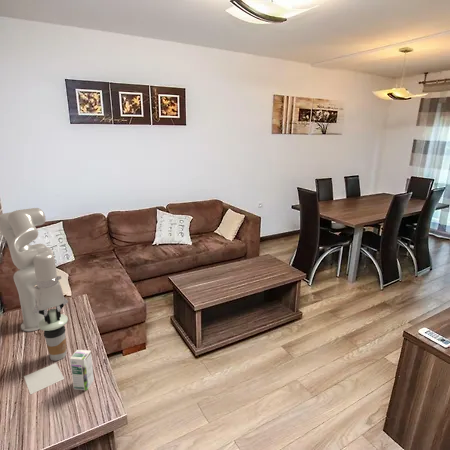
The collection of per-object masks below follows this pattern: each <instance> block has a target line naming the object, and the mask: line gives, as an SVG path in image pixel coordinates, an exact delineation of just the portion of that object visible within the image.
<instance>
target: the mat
mask: <svg viewBox="0 0 450 450" xmlns="http://www.w3.org/2000/svg"><path fill="white" fill-rule="evenodd" d="M23 378H24V381H25V385H26V386H27V389H28V391H29V395H30V396H31V395H32V394H35V393H36V392H39V391H41V390H43V389H45V388H48V387H50V386H52V385H55V384H56V383H58V382H60V381H62V380H65V377H64V375H63V373H62V371H61V369H60V368H59V366H58V364H57V362H55V363H52V364H50V365H48V366H45V367H43V368H41V369H38V370H36V371H34V372H31V373H29V374H27V375H24V376H23Z"/></svg>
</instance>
